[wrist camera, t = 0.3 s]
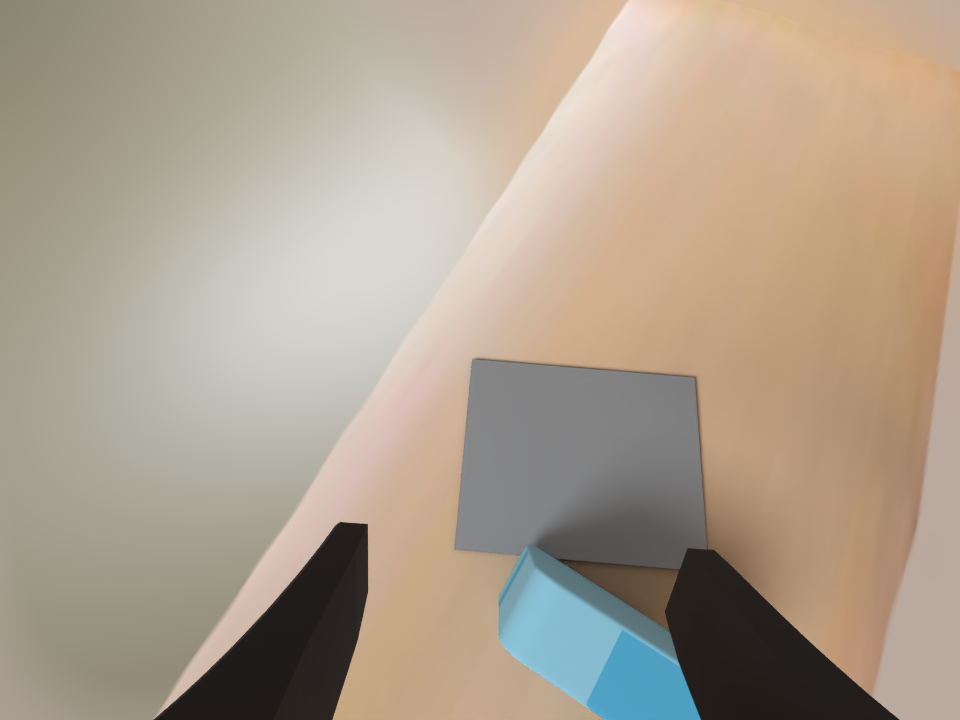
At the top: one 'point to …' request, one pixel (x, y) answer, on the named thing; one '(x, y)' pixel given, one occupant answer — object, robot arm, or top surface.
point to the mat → (581, 465)
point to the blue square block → (590, 643)
